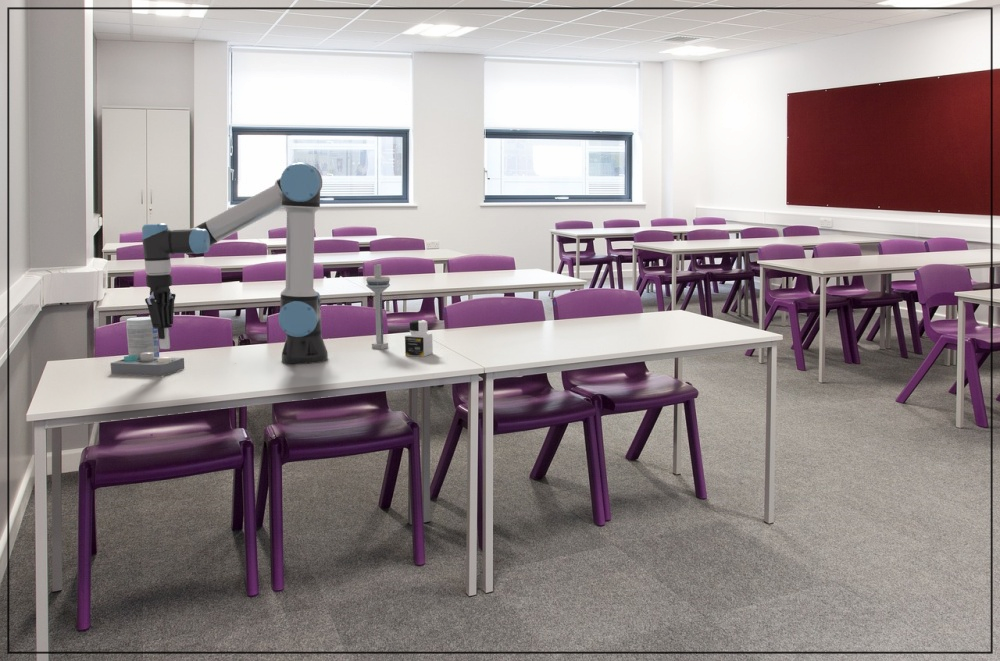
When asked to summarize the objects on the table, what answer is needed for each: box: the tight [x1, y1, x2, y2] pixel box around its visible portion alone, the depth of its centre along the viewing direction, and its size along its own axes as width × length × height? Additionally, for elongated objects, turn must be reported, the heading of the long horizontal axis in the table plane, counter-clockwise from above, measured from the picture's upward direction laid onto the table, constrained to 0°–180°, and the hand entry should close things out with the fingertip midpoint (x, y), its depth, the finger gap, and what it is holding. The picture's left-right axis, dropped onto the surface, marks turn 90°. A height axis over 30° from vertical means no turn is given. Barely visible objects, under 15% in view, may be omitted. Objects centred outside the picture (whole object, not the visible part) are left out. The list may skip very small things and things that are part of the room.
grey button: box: [140, 352, 154, 362], centre depth 281 cm, size 4×4×3 cm
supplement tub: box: [125, 316, 160, 357], centre depth 297 cm, size 10×10×15 cm
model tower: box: [365, 264, 391, 350], centre depth 318 cm, size 8×8×30 cm
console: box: [110, 356, 185, 377], centre depth 282 cm, size 18×12×4 cm, turn 77°
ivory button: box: [158, 356, 171, 363], centre depth 280 cm, size 4×4×3 cm
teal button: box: [123, 355, 138, 362], centre depth 283 cm, size 4×4×3 cm
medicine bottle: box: [404, 319, 434, 358], centre depth 306 cm, size 7×7×12 cm
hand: (165, 348), depth 280 cm, fingers closed
